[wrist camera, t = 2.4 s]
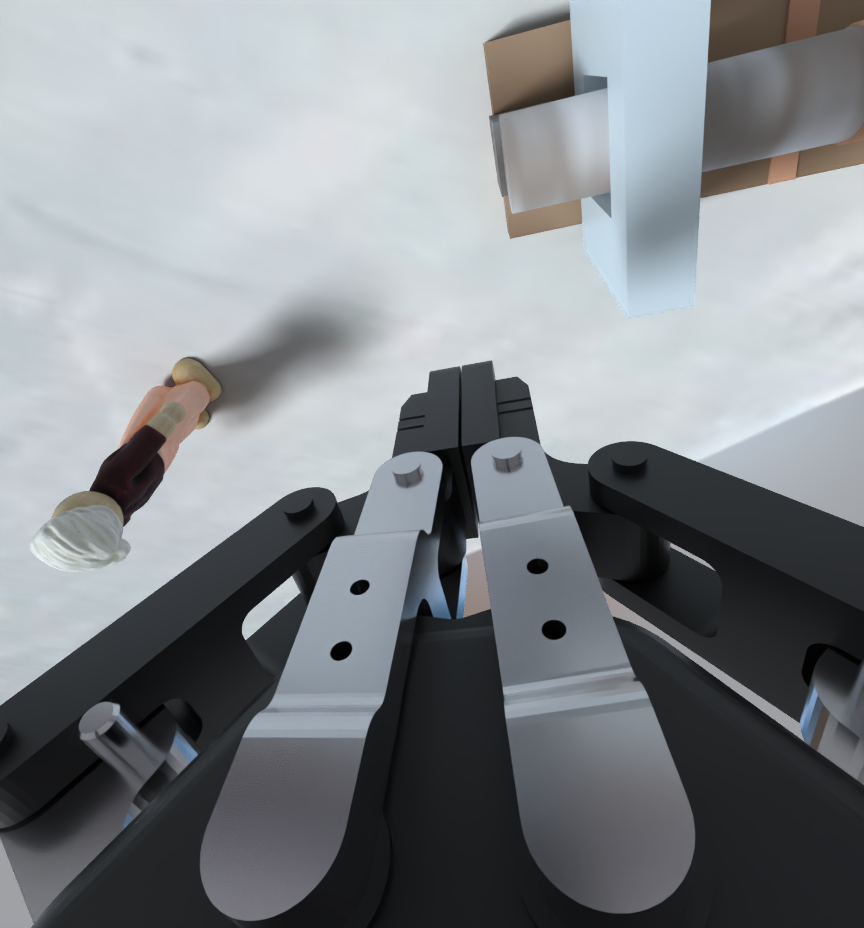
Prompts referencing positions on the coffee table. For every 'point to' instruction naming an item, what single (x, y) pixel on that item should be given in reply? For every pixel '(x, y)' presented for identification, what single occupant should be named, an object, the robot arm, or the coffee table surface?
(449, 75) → the coffee table surface
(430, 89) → the coffee table surface
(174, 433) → the grandmother figurine
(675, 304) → the square plate with hole
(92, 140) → the coffee table surface
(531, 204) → the pipe stand
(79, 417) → the coffee table surface
